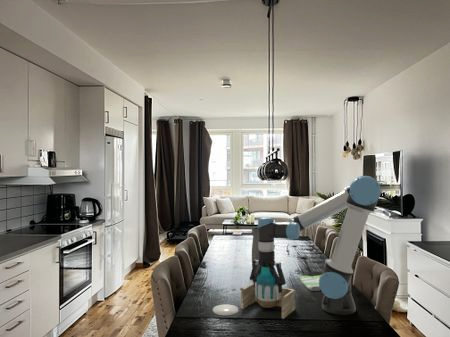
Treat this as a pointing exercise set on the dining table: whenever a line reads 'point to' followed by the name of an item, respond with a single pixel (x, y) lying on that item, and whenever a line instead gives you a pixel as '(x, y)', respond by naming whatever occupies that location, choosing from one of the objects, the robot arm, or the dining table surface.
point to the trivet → (225, 310)
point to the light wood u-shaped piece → (285, 302)
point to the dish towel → (311, 282)
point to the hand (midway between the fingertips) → (267, 297)
